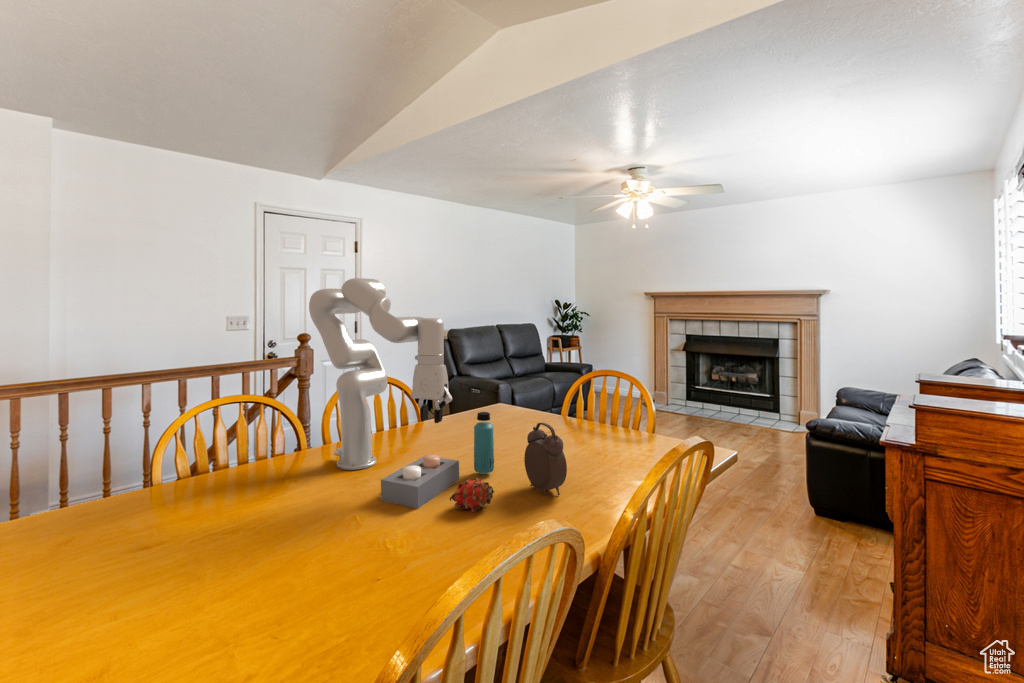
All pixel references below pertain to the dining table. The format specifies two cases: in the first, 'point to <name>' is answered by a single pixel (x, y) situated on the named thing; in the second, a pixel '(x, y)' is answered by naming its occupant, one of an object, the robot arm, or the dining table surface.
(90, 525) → the dining table surface
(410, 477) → the white rounded piece
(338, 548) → the dining table surface
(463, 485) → the dragon fruit
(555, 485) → the alarm clock
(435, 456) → the brown egg
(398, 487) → the grey rectangular block
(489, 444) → the beverage bottle
